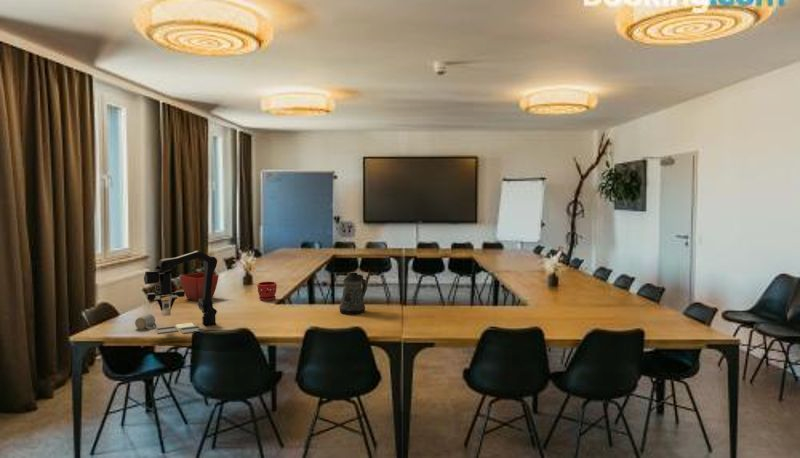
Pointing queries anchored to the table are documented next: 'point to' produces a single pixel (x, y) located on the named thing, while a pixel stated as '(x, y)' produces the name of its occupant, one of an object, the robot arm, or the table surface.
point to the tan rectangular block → (166, 308)
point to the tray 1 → (166, 330)
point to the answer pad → (184, 325)
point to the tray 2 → (189, 329)
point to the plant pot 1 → (196, 285)
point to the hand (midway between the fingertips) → (166, 310)
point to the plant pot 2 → (267, 290)
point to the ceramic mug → (145, 322)
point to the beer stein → (353, 295)
